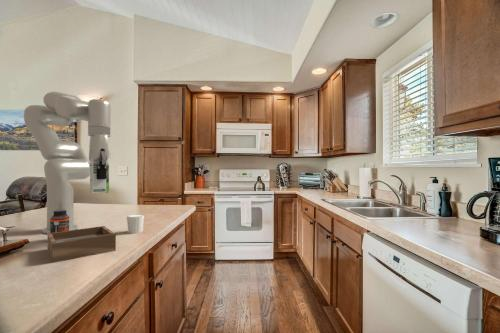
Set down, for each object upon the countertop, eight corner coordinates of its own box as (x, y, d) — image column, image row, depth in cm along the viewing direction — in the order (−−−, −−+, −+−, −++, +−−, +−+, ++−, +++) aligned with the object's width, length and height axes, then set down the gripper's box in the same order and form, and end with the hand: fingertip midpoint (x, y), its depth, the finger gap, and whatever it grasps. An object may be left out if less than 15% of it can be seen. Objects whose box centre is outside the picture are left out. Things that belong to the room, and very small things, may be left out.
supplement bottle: (59, 242, 97) (59, 211, 97) (45, 241, 98) (45, 211, 98) (73, 238, 103) (73, 209, 103) (60, 237, 104) (60, 208, 104)
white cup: (123, 233, 111) (123, 216, 111) (135, 229, 117) (135, 213, 117) (135, 234, 109) (135, 217, 109) (147, 230, 115) (147, 214, 115)
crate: (47, 249, 88) (47, 233, 88) (103, 240, 100) (104, 225, 100) (52, 262, 76) (52, 243, 76) (115, 250, 88) (115, 234, 88)
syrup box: (92, 194, 97) (92, 155, 98) (89, 192, 102) (89, 155, 102) (109, 193, 101) (109, 155, 101) (106, 191, 106) (106, 155, 106)
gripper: (83, 133, 105) (83, 178, 105) (93, 129, 93) (93, 180, 93) (104, 135, 111) (104, 178, 110) (116, 131, 98) (116, 179, 98)
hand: (99, 178), depth 102 cm, fingers closed on syrup box, 6 cm apart
